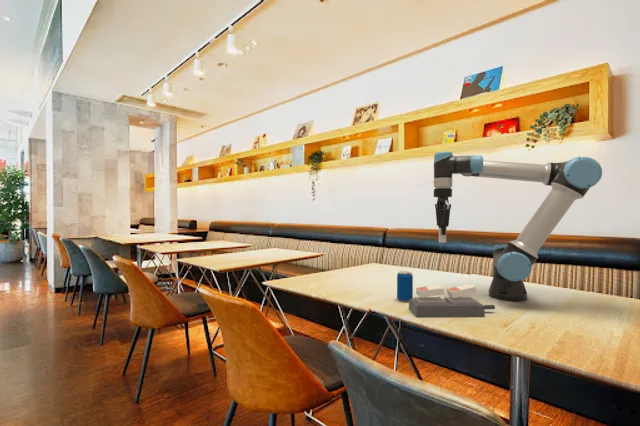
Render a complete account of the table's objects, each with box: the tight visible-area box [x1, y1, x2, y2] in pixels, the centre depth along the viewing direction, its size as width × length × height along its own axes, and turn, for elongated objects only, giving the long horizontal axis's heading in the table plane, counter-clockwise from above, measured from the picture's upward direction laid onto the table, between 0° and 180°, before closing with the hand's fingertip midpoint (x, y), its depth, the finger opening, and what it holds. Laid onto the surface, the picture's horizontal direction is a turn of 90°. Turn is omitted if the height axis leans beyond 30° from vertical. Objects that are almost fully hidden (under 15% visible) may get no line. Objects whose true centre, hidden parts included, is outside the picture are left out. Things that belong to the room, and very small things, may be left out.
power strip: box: [408, 296, 496, 318], centre depth 134 cm, size 31×10×5 cm, turn 91°
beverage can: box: [396, 270, 414, 303], centre depth 150 cm, size 6×6×12 cm
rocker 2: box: [446, 283, 477, 298], centre depth 133 cm, size 9×5×2 cm, turn 91°
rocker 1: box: [415, 284, 445, 297], centre depth 133 cm, size 9×5×3 cm, turn 91°
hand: (442, 242), depth 153 cm, fingers closed
